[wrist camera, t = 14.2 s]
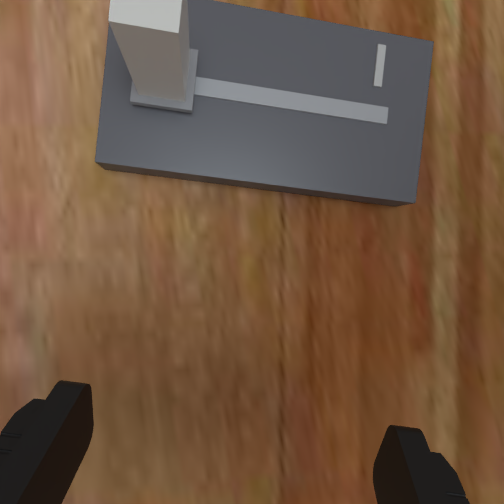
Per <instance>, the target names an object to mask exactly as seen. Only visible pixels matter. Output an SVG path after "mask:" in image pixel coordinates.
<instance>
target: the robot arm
mask: <svg viewBox="0 0 504 504" xmlns="http://www.w3.org/2000/svg"><path fill="white" fill-rule="evenodd" d="M93 426H94V422H93V407H92V392H91V386H90V384H85V383H78V382H70V381H63V380H61V381H59V382H58V383H57V384H56V385H55V387H54V388H53V390H52V391H51V393H50V394H49V396H48V397H47V399H46V400H42V399H33V400H32V401H30V402H29V403H28V404H26V405H25V406H24V407H22V408H21V409H20V410H18V411H17V412H16V413H15V414H14V415H13V416H12V418H11V419H10V420H9V422H8V423H7V425H6V426H5V427H4V429H3V430H2V431H1V435H0V504H62V502H63V499H64V497H65V495H66V493H67V491H68V489H69V487H70V485H71V483H72V481H73V479H74V476H75V474H76V472H77V470H78V468H79V466H80V464H81V462H82V460H83V458H84V455H85V453H86V451H87V449H88V447H89V444H90V441H91V438H92V433H93ZM373 483H374V489H375V494H376V498H377V503H378V504H470V503H469V501H468V499H467V498H466V497H465V495H466V494H465V492H464V489H463V487H462V485H461V482H460V480H459V478H458V475H457V473H456V472H455V470H454V469H453V468H452V467H451V466H450V464H449V463H448V462H447V461H446V459H445V458H444V457H443V456H442V455H441V453H435V452H430V450H429V447H428V444H427V442H426V439H425V437H424V434H423V433H422V431H421V430H420V429H418V428H410V427H403V426H395V425H390V426H389V427H388V428H387V431H386V433H385V436H384V438H383V441H382V444H381V446H380V449H379V451H378V454H377V457H376V459H375V462H374V467H373Z"/></svg>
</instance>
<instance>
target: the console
mask: <svg viewBox="0 0 504 504" xmlns="http://www.w3.org/2000/svg"><path fill="white" fill-rule="evenodd" d="M187 4H188V25H189V47H190V49H196V50H198V62H197V72H196V81H195V91H194V100H193V110H192V113H187V112H180V111H173V110H167V109H160V108H153V107H146V106H140V105H133V104H131V102H130V96H131V86H132V77H131V75H130V72H129V70H128V68H127V65H126V63H125V60H124V58H123V55H122V53H121V51H120V48H119V46H118V43H117V41H116V38H115V36H114V33H113V31H112V29H111V26H110V24H109V30H108V40H107V49H106V59H105V69H104V79H103V88H102V98H101V108H100V118H99V127H98V137H97V147H96V157H95V162H96V163H97V164H99V165H100V166H101V167H103V168H104V169H106V170H113V171H121V172H129V173H137V174H145V175H153V176H161V177H168V178H176V179H184V180H192V181H200V182H208V183H216V184H224V185H231V186H239V187H247V188H255V189H263V190H271V191H279V192H286V193H294V194H302V195H310V196H318V197H326V198H334V199H342V200H349V201H357V202H365V203H373V204H381V205H389V206H401V205H407V204H413V203H415V202H416V193H417V184H418V175H419V167H420V158H421V149H422V140H423V131H424V123H425V114H426V105H427V96H428V87H429V78H430V70H431V61H432V52H433V43H434V42H433V41H428V40H422V39H417V38H412V37H406V36H401V35H395V34H390V33H385V32H379V31H374V30H369V29H363V28H358V27H353V26H347V25H342V24H336V23H331V22H326V21H320V20H315V19H310V18H304V17H299V16H293V15H288V14H283V13H277V12H272V11H267V10H261V9H256V8H250V7H245V6H240V5H234V4H229V3H224V2H218V1H213V0H187Z"/></svg>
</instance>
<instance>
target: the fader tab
mask: <svg viewBox="0 0 504 504" xmlns="http://www.w3.org/2000/svg"><path fill="white" fill-rule="evenodd" d="M108 21H109V24H110V26H111V29H112V31H113V33H114V36H115V38H116V41H117V43H118V46H119V48H120V51H121V53H122V55H123V58H124V60H125V63H126V65H127V68H128V70H129V72H130V75H131V77H132V86H131V96H130V102H131V104H133V105H140V106H146V107H153V108H160V109H167V110H173V111H180V112H187V113H192V110H193V100H194V91H195V81H196V72H197V62H198V50H196V49H190V47H189V25H188V4H187V0H110V10H109V20H108Z"/></svg>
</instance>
